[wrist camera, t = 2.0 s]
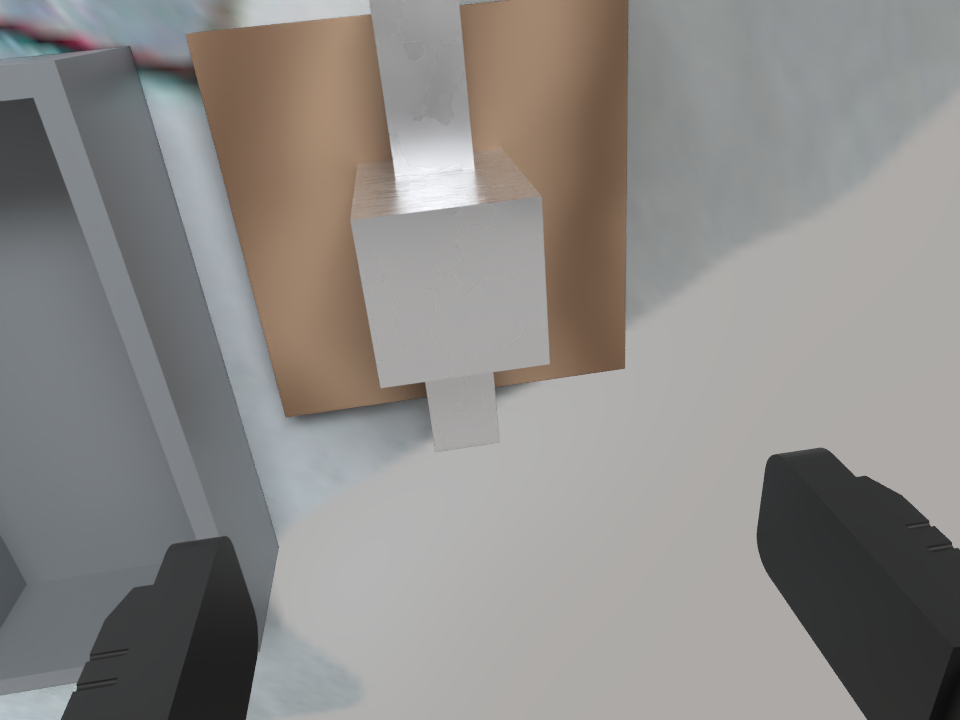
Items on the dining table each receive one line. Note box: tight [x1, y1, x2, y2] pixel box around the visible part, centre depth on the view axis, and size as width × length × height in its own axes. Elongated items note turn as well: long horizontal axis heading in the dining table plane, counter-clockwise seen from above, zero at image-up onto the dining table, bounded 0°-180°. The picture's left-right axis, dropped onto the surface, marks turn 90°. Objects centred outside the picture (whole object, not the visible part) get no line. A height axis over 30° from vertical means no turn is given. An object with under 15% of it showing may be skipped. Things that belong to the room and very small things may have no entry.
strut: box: [350, 0, 550, 452], centre depth 22 cm, size 16×5×7 cm, turn 5°
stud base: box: [186, 0, 628, 417], centre depth 24 cm, size 14×14×6 cm
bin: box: [0, 46, 279, 695], centre depth 25 cm, size 22×12×6 cm, turn 5°
